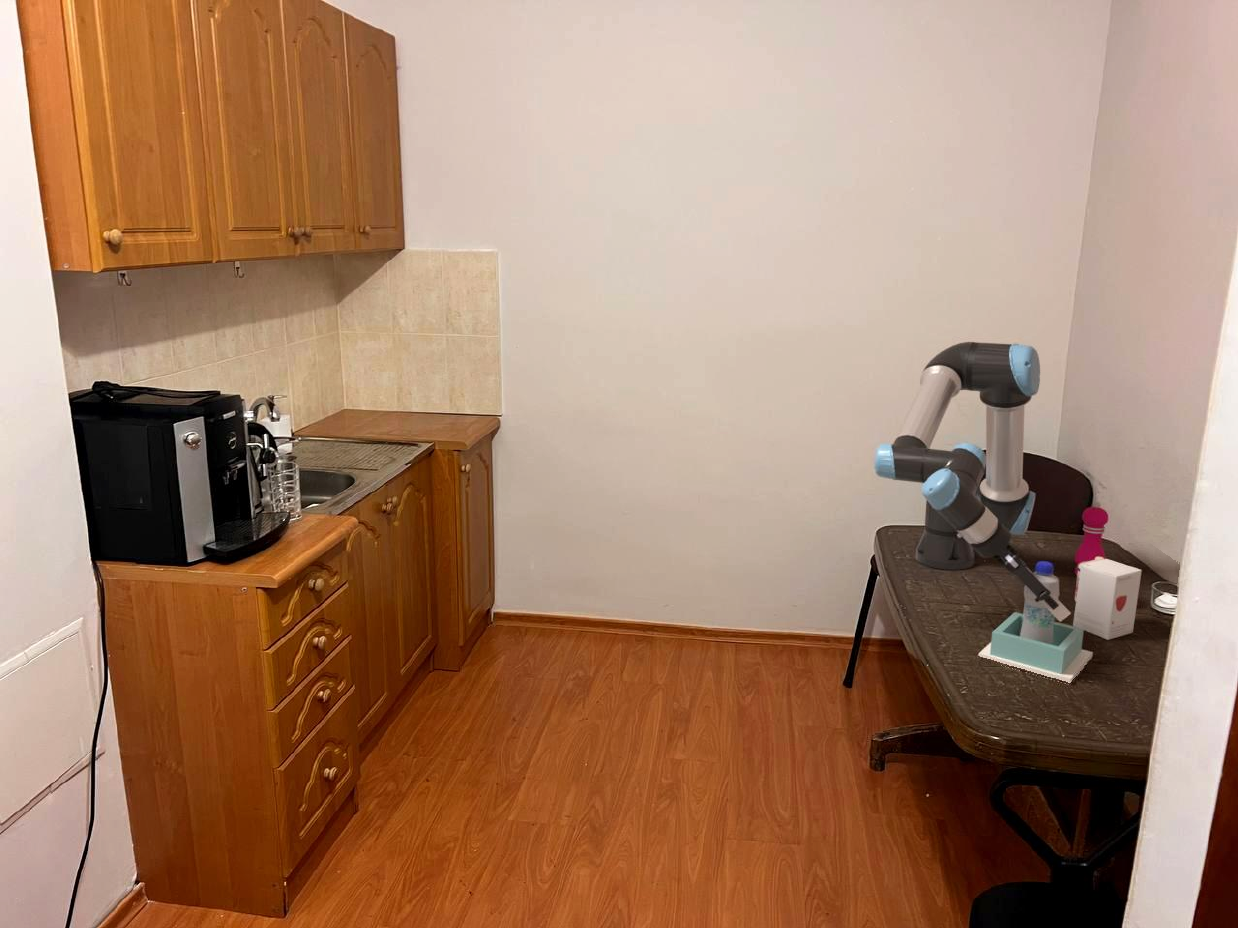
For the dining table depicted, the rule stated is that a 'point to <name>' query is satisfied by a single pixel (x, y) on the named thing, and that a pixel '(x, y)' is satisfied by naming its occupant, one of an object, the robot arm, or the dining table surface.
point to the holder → (1039, 650)
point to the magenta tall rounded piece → (1092, 535)
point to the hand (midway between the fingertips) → (1052, 604)
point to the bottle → (1039, 607)
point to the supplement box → (1107, 598)
